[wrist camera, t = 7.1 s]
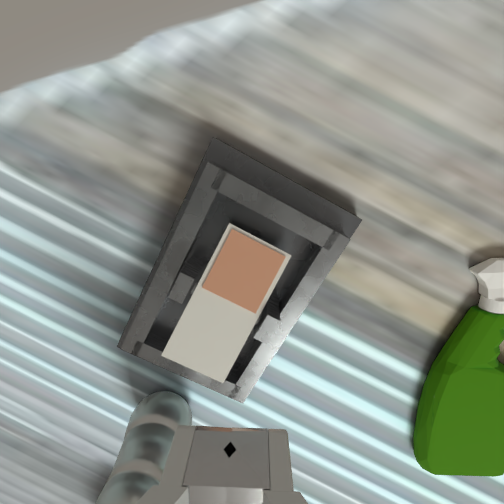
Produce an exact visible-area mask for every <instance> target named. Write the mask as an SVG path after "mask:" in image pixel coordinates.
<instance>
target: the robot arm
mask: <svg viewBox="0 0 504 504" xmlns="http://www.w3.org/2000/svg"><path fill="white" fill-rule="evenodd" d="M135 504H308V503H307V502H306V500H305V499H304V497H303V496H302V495H301V493H300V492H295V491H294V489H293V480H292V470H291V461H290V451H289V442H288V433H287V431H286V430H284V429H262V428H223V427H209V426H190V425H178V427H177V429H176V430H175V434H174V437H173V440H172V444H171V447H170V450H169V453H168V457H167V460H166V463H165V467H164V470H163V473H162V477H161V480H160V483H159V485H153V486H152V487H151V488H150V489H149V490H148V491H147V492H146V493H145V494H144V495H143V496H142V497H141V498H140V499H139V500H138V501H137V502H136V503H135Z"/></svg>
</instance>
